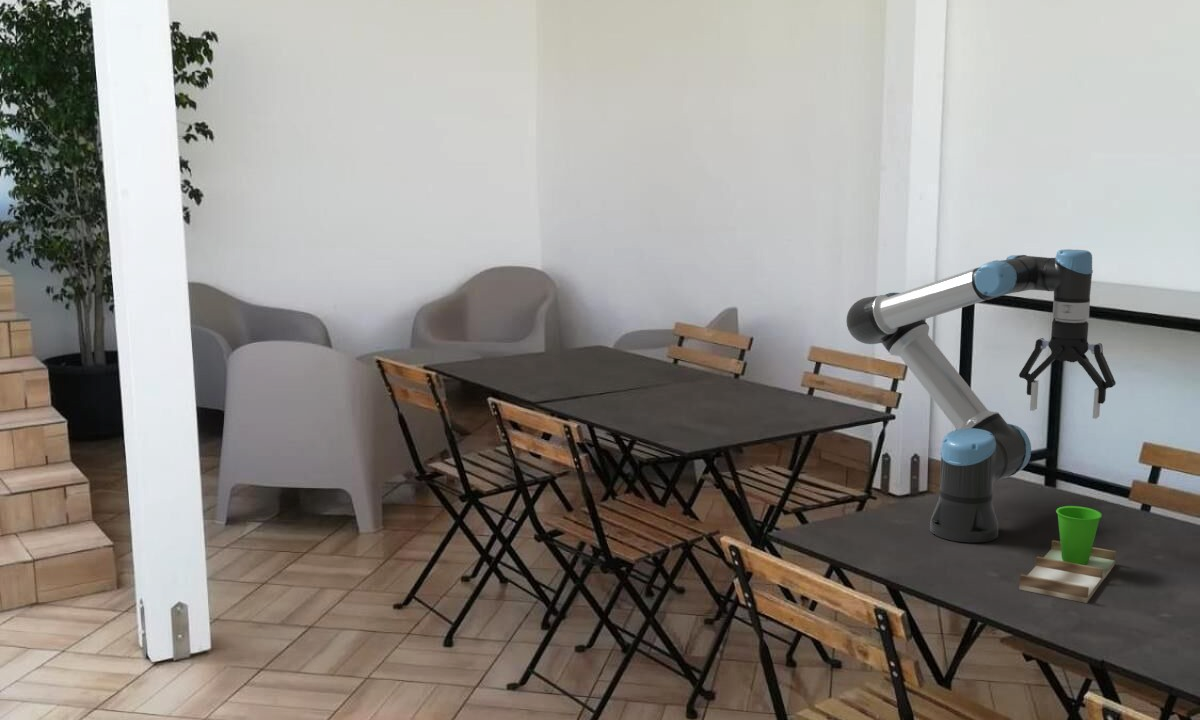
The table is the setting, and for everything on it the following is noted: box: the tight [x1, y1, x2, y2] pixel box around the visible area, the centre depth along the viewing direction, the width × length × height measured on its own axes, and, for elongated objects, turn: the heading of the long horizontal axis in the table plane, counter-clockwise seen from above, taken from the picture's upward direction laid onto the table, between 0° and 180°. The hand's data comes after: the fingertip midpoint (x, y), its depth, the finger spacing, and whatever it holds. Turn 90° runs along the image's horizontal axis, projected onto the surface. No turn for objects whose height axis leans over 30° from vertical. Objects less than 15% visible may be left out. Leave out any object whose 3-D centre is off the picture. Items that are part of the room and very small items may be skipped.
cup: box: [1055, 505, 1103, 565], centre depth 254 cm, size 9×9×11 cm
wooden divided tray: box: [1018, 539, 1117, 604], centre depth 250 cm, size 13×26×3 cm, turn 146°
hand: (1064, 413), depth 271 cm, fingers open, 13 cm apart
